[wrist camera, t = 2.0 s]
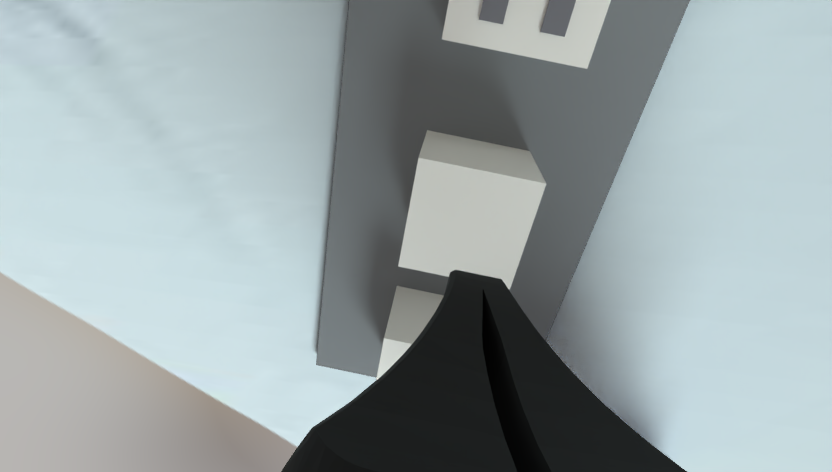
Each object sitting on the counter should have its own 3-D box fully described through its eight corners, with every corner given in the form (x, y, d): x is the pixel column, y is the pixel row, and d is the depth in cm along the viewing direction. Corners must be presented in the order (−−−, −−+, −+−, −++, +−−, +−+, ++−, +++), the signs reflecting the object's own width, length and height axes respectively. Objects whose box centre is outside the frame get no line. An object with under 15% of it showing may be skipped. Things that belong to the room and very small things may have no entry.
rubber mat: (516, 398, 25) (517, 406, 25) (319, 357, 25) (316, 364, 25) (740, -141, 13) (752, -148, 13) (373, -215, 13) (369, -224, 13)
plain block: (529, 150, 18) (546, 183, 14) (501, 241, 20) (509, 289, 16) (427, 130, 18) (418, 157, 14) (409, 222, 20) (398, 266, 16)
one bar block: (481, 303, 21) (485, 361, 18) (461, 365, 24) (461, 428, 20) (397, 285, 21) (383, 339, 18) (384, 349, 24) (370, 410, 20)
